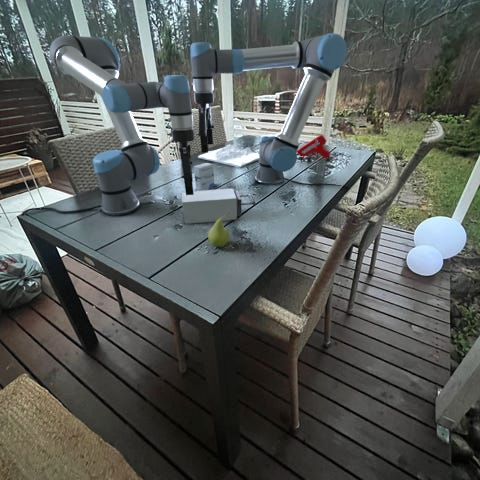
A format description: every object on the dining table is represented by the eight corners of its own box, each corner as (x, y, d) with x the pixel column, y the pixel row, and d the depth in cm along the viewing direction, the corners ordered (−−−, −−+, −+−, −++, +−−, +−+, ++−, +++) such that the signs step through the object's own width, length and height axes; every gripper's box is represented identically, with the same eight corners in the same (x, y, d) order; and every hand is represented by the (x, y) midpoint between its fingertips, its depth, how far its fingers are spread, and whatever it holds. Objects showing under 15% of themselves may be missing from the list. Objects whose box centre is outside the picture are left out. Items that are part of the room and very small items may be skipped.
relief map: (240, 167, 163) (239, 158, 160) (198, 157, 181) (197, 150, 178) (264, 157, 181) (264, 149, 178) (224, 149, 199) (223, 141, 196)
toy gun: (334, 153, 174) (322, 133, 171) (333, 155, 171) (321, 134, 167) (309, 168, 184) (297, 149, 181) (308, 170, 181) (296, 151, 177)
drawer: (250, 205, 117) (251, 189, 113) (255, 215, 109) (255, 198, 105) (192, 210, 113) (190, 194, 109) (193, 220, 106) (191, 203, 102)
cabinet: (233, 208, 117) (232, 188, 112) (236, 219, 108) (236, 198, 103) (184, 212, 114) (182, 191, 109) (184, 224, 105) (182, 202, 100)
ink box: (208, 184, 140) (207, 162, 133) (214, 187, 137) (213, 164, 130) (195, 189, 134) (192, 165, 128) (201, 192, 132) (199, 168, 125)
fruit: (206, 242, 94) (203, 211, 88) (227, 237, 96) (225, 207, 90) (212, 252, 89) (209, 220, 82) (233, 247, 91) (232, 215, 85)
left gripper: (172, 122, 102) (180, 177, 113) (169, 136, 81) (178, 201, 92) (192, 121, 103) (198, 176, 114) (194, 135, 82) (201, 200, 93)
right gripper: (199, 89, 115) (203, 141, 127) (186, 94, 94) (193, 156, 106) (217, 89, 115) (219, 141, 126) (208, 94, 94) (212, 156, 106)
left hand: (189, 187), depth 103 cm, fingers open, 13 cm apart
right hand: (207, 148), depth 116 cm, fingers open, 13 cm apart
